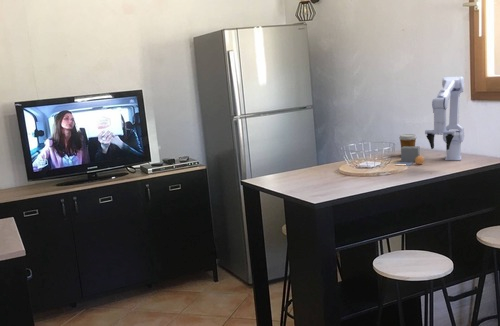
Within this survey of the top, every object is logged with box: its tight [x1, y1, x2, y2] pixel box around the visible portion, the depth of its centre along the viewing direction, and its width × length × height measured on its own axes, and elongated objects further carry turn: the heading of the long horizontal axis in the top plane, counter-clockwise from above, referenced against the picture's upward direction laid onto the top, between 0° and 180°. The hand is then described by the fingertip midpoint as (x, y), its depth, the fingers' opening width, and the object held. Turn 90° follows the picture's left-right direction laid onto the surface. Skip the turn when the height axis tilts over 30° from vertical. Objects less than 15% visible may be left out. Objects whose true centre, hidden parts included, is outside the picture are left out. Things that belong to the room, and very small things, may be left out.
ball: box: [415, 155, 425, 165], centre depth 280 cm, size 4×4×4 cm
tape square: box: [395, 161, 414, 167], centre depth 284 cm, size 8×8×1 cm
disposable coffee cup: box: [398, 133, 417, 149], centre depth 303 cm, size 10×10×12 cm
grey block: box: [400, 145, 421, 164], centre depth 289 cm, size 6×9×8 cm
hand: (440, 149), depth 266 cm, fingers open, 7 cm apart
